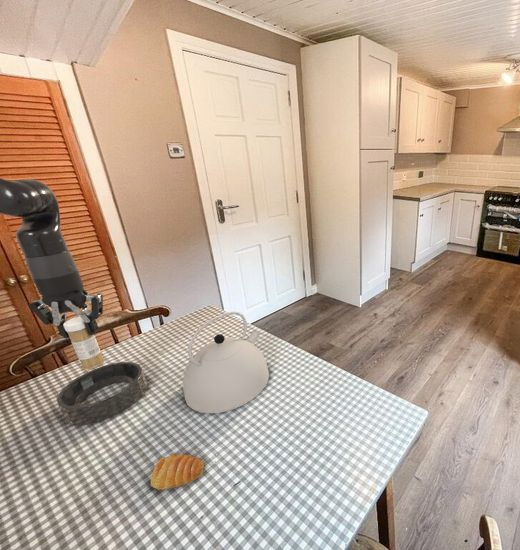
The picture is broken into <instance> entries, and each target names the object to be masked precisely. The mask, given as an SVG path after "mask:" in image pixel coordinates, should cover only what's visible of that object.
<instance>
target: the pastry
mask: <svg viewBox="0 0 520 550" xmlns="http://www.w3.org/2000/svg"><path fill="white" fill-rule="evenodd" d="M204 466H205V463H204V461H203V460H201V459H199V458H197V456H193V455H190V454H185V453H179V454H177V453H172V454H170V455H169V456H165V457H162V458H160V459H159V460H158V461H157V462H156V463H155V465H154V467H153V471H152V472H151V477H150V486H151V488H153V489H155V490H159V491H164V490H169V489H174V488H177V487H181V486H184V485H187V484H191V483H193V482H194V481H195V480H197V479H199V478H200V477H201V476H202V475H203V472H204V468H205V467H204Z"/></svg>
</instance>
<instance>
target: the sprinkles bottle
mask: <svg viewBox="0 0 520 550" xmlns="http://www.w3.org/2000/svg"><path fill="white" fill-rule="evenodd" d="M65 321H66V322H65V323H64V324H63V326H64V328H65V330H66V332H67V333H68V335H69V339H70V343H71V344H72V347H73V349H74V351H75V354H76V356H77V358H78V360H79V362H80V365H81V368H82V370H85V371H91V370H94V369H96V368H99V367H102V366H103V365H104V363H105V361H106V360H105V358H104V357H103V354H102V352H101V349H100V346H99V343H98V341H97V338H96V336H95V334H94V335H89V333H88V331H87V328H86V326H85V324H84V323H85V322H84V320H83V319H82V318H81V317H80V316H75V317H73V318H69V319H67V320H65Z"/></svg>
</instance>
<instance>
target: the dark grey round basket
mask: <svg viewBox="0 0 520 550" xmlns="http://www.w3.org/2000/svg"><path fill="white" fill-rule="evenodd" d="M122 383H124V384H129V385H128V386H127V387H125V388H124V389H122V390H121V391H118V392H117V393H116V394H114V395H112V396H110V397H107V398H105V399H103V400H100V401H97V402H94V403H91V404H85V405H82V404H83V402H84V401H85V400H86V399H88V398H89V397H91V396H92V395H93V394H95V393H96V392H98V391H100V390H103V389H105V388H106V387H109V386H112V385H116V384H122ZM147 389H148V382H147V378H146V375H145V373H144V370H143V367H142V366H141V365H140V364H138V363H137V362H133V361H119V362H113V363H109V364H106V365H101V366H99V367H97V368H94V369H90V370H88V371H87V372H85V373H83V374H81V375H79V376H77V377H76V378H74V379H73V380H72V381H70V382H69V383H67V384H66V385H65V386H64V387H63V388H62V389H61V390H60V392H59V393H58V396H57V397H56V402H57V405H58V407H59V409H60V412H61V413H62V415H63V417H64V419H65V421H66V422H67V423H69V424H71V425H79V426H85V425H91V424H97V423H100V422H103V421H106V420H108V419H111V418H113V417H116V416H117V415H119V414H121V413H123V412H125V411H126V410H128V409H130V407H133V405H135V404H136V403H137V402H138V401H139V400H140V399H141V398H142V397H143V396H144V394H145V392H146V391H147Z"/></svg>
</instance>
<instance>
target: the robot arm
mask: <svg viewBox="0 0 520 550" xmlns="http://www.w3.org/2000/svg"><path fill="white" fill-rule="evenodd" d="M59 206H60V205H59V201H58V198H57V197H56V194H55V193H54V192H53V190H52V189H51V187H50V186H48V185H47V184H46V183H43V182H42V181H40V180H36V179H30V178H24V179H15V180H8V179H4V178H2V177H0V214H1V215H4V216H8V217H14V218H21V222H22V224H21V226H20V227H19V228H18V229H17V231H16V232H15V239H16V241H17V243H18V245H19V248H20V250H21V252H22V254H23V257H24V260H25V263H26V267H27V269H28V272H29V275H30V277H31V279H32V280H33V281H32V282H34V285H35V288H36V290H37V292H38V294H39V295H40V296H41V298H37V299H35V300H33V301H31V302H30V303H28V307H29V308H30V310H31V311H32V312H33V313H34V314H35V315H36V317H37V318H38V319H39V320H40V321H41V322H42V323H43V324H44V325H46V326H47V325H48V326H49V325H53V326H55V327H56V329H57V330H58V332H59V335H60V336H61V337H63V339H70V337H69V335H68V333H67V332H66V330H65V328H64V326H63V324H64V323H65V322H66V321H67V313H68V312H69V313H74V314H75V315H76V317H81V318H82V319H83V320H84V322H85V323H84V324H85V326H86V328H87V331H88V333H89V335H94V336H95V335H96V333H97V332H98V330H99V329H100V328H99V325H98V323H97V320H98V319H99V318H100V317H101V316H102V315H103V314H104V296H103V295H104V294H102V293H101V292H100V293H97V294H93V293H88V292H87V291H86V290H85V288H84V282H83V280H82V277H81V273H80V272H79V269H78V267H77V264H76V262H75V259H74V257H73V255H72V254H71V252H70V249H69V247H68V244H67V242H66V239H65V237H64V235H63V233H62V231H61V230H62V227H61V225H62V223H61V214H60V207H59ZM87 301H88V302H87ZM88 303H89V304H88ZM50 308H51V309H50Z"/></svg>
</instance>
